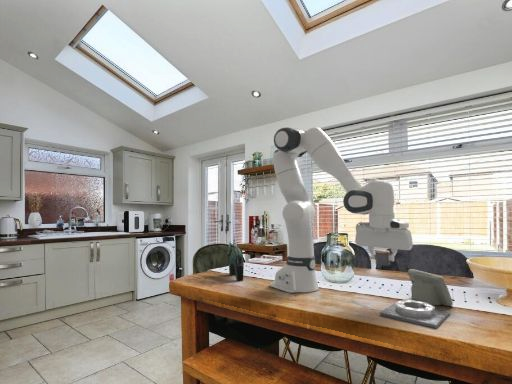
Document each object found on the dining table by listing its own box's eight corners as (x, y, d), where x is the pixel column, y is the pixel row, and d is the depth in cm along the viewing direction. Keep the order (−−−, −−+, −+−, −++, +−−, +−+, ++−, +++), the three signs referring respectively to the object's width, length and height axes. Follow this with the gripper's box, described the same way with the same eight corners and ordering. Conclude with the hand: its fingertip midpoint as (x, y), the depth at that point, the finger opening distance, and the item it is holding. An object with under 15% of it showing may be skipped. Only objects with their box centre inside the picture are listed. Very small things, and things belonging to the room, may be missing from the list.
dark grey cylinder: (373, 264, 110) (373, 250, 111) (378, 262, 114) (378, 249, 114) (387, 266, 107) (386, 252, 107) (392, 264, 110) (391, 250, 111)
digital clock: (456, 307, 102) (454, 276, 102) (430, 308, 101) (428, 277, 102) (427, 294, 118) (425, 267, 119) (405, 295, 118) (403, 268, 118)
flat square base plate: (380, 315, 96) (379, 306, 96) (398, 303, 107) (397, 295, 107) (436, 328, 84) (435, 317, 85) (449, 313, 96) (449, 304, 96)
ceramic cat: (226, 274, 165) (226, 238, 166) (238, 273, 167) (237, 237, 168) (234, 282, 146) (234, 241, 147) (247, 280, 148) (246, 240, 149)
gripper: (352, 222, 116) (352, 257, 115) (407, 224, 102) (408, 264, 101) (359, 221, 121) (360, 255, 120) (413, 223, 106) (414, 262, 105)
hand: (382, 259), depth 110 cm, fingers closed on dark grey cylinder, 5 cm apart
